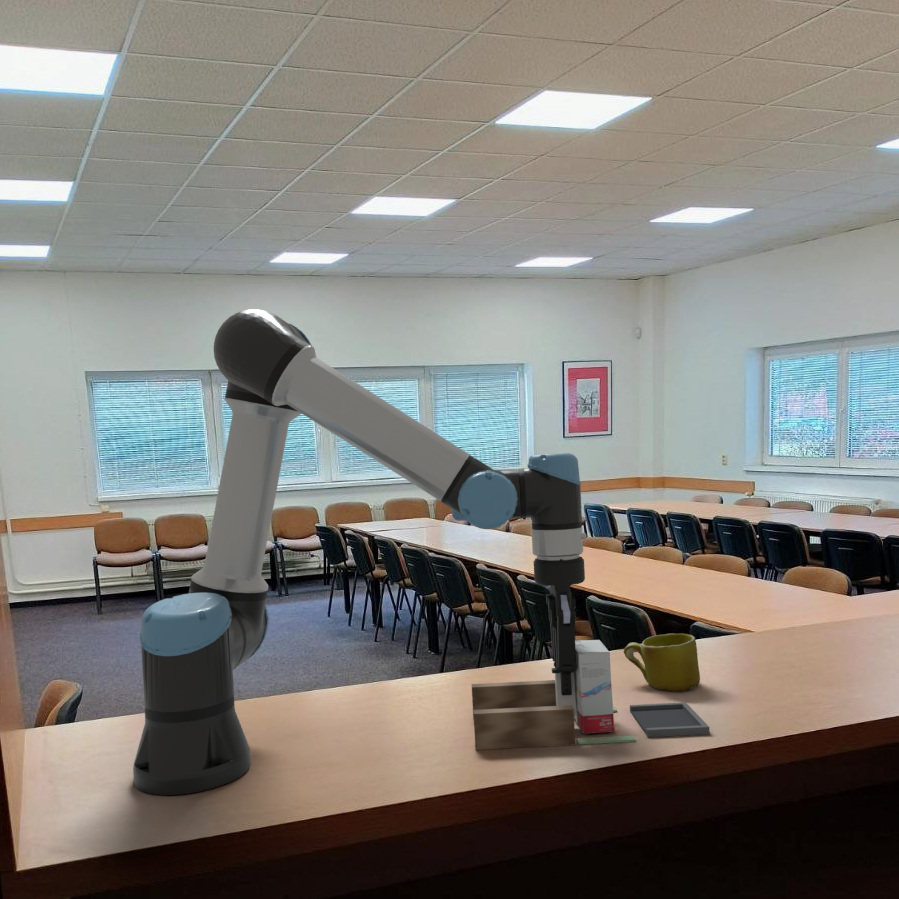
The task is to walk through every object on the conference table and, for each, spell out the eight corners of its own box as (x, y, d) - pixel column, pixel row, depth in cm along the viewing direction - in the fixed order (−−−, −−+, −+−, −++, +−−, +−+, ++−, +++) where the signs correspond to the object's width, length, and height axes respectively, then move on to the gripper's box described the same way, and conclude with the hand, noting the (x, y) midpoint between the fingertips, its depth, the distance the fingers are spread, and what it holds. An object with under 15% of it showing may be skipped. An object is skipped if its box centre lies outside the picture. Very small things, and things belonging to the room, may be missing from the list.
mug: (715, 668, 140) (696, 618, 139) (701, 702, 132) (680, 649, 131) (651, 674, 147) (632, 626, 146) (633, 706, 139) (613, 656, 138)
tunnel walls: (475, 749, 112) (473, 713, 112) (473, 715, 127) (471, 684, 127) (575, 744, 112) (573, 709, 112) (561, 711, 127) (559, 679, 127)
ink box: (615, 734, 116) (612, 652, 116) (580, 735, 116) (577, 652, 116) (603, 715, 124) (601, 638, 125) (570, 715, 124) (568, 639, 125)
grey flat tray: (647, 737, 114) (647, 729, 114) (629, 711, 125) (629, 705, 125) (709, 734, 114) (709, 726, 114) (686, 708, 125) (685, 702, 125)
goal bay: (578, 744, 112) (578, 742, 112) (564, 711, 127) (564, 709, 127) (635, 741, 112) (635, 739, 112) (615, 709, 127) (614, 707, 127)
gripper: (590, 560, 114) (599, 727, 113) (576, 550, 127) (584, 700, 126) (537, 563, 114) (546, 730, 113) (529, 552, 127) (536, 702, 126)
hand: (566, 714), depth 120 cm, fingers closed
